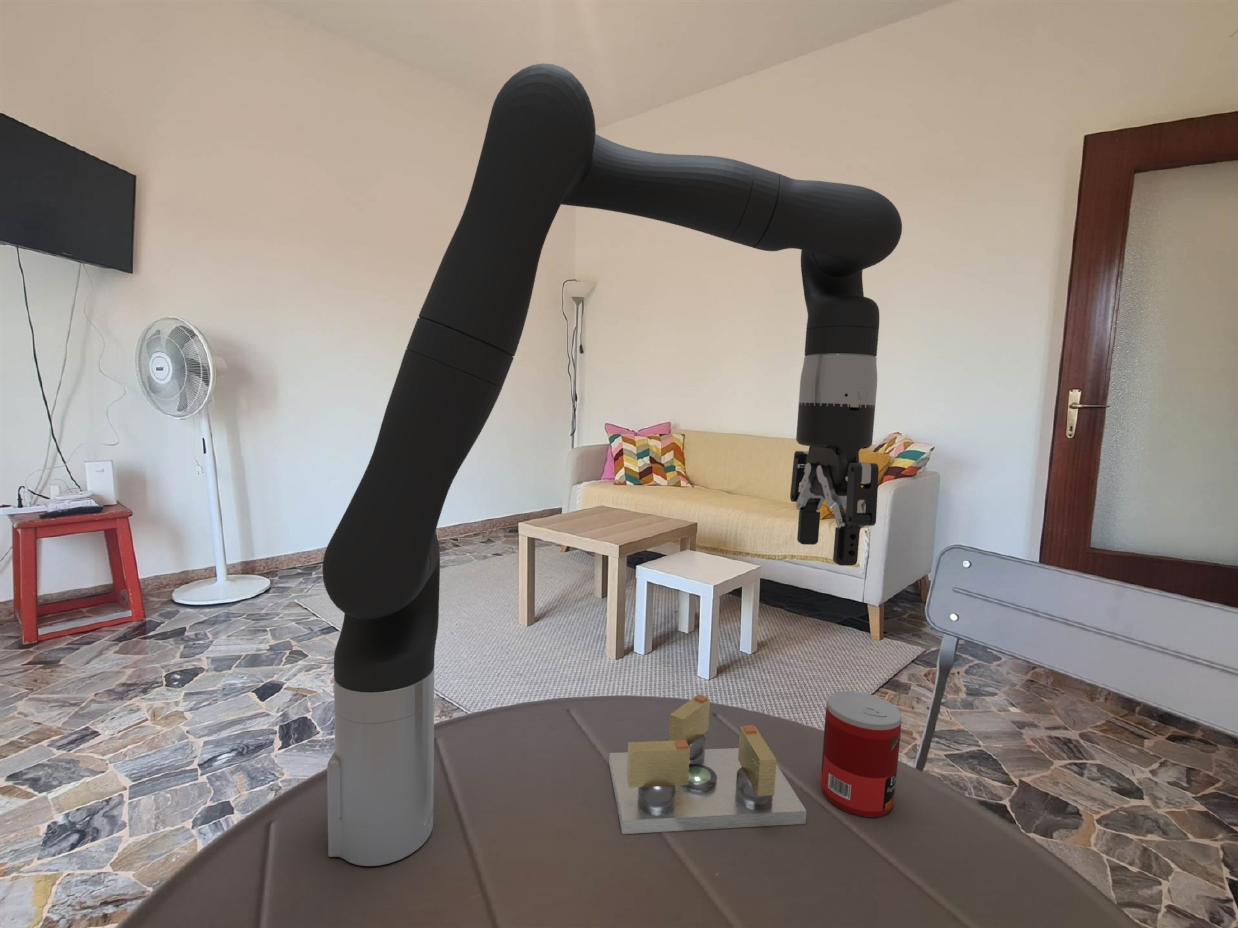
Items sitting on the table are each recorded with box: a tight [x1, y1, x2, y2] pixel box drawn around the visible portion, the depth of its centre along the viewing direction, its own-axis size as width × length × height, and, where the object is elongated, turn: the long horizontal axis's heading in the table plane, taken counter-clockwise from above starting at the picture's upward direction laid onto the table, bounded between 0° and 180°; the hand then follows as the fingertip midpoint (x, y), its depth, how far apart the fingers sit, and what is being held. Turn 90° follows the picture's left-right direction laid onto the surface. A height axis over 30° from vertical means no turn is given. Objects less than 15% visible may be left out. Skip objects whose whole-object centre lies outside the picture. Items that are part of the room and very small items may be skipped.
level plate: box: [608, 747, 807, 835], centre depth 69 cm, size 20×12×2 cm, turn 97°
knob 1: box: [627, 740, 690, 815], centre depth 65 cm, size 6×4×7 cm, turn 97°
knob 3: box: [735, 724, 777, 810], centre depth 66 cm, size 6×4×7 cm, turn 7°
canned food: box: [820, 690, 902, 818], centre depth 69 cm, size 8×8×11 cm
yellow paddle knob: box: [668, 694, 711, 764], centre depth 73 cm, size 6×4×7 cm, turn 142°
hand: (824, 553), depth 64 cm, fingers open, 8 cm apart
